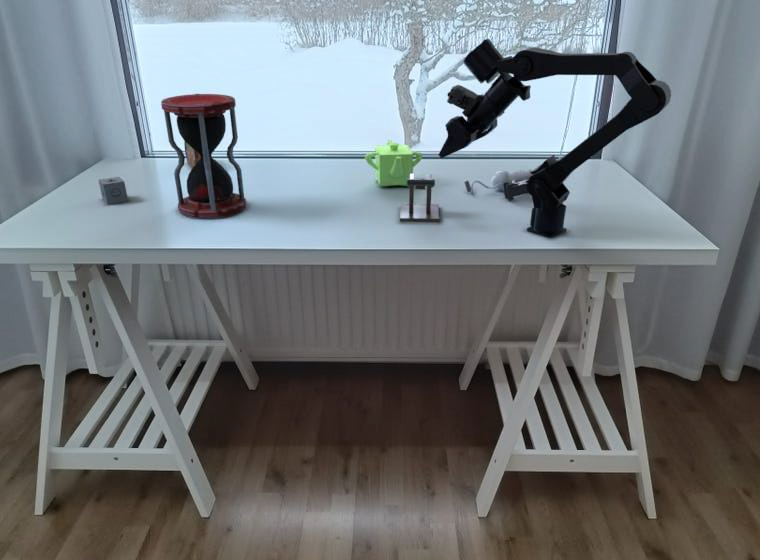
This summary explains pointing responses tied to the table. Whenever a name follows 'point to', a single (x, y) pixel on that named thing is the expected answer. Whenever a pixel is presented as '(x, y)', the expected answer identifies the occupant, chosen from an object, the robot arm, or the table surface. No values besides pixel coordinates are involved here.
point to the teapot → (393, 163)
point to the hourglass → (205, 154)
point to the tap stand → (419, 207)
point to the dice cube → (113, 190)
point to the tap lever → (420, 183)
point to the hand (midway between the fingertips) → (447, 152)
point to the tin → (191, 155)
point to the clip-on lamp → (507, 183)
